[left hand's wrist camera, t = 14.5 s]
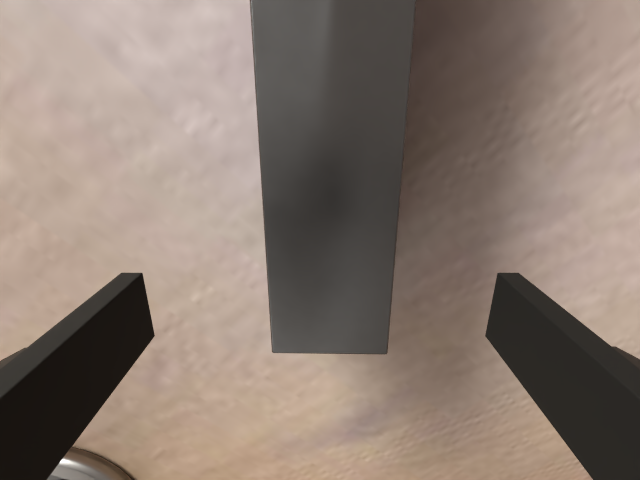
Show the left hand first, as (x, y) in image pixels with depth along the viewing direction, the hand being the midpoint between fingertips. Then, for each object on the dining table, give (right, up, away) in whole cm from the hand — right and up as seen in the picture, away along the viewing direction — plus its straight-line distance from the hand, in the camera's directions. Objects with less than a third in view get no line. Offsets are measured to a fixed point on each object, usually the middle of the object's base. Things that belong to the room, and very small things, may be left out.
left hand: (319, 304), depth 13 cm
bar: (+1, +15, +7) cm, 17 cm away
